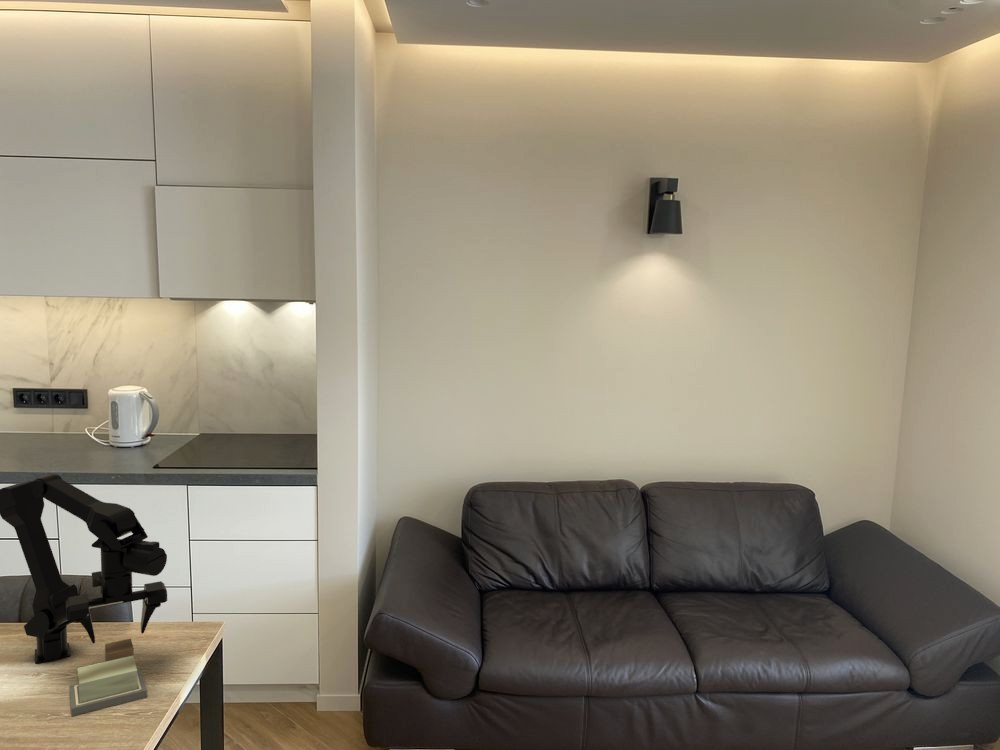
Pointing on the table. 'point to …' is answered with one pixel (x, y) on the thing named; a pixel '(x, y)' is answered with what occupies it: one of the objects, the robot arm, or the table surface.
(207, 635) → the table surface
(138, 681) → the plinth
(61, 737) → the table surface
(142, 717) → the table surface
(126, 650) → the walnut cube
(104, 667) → the sage block
